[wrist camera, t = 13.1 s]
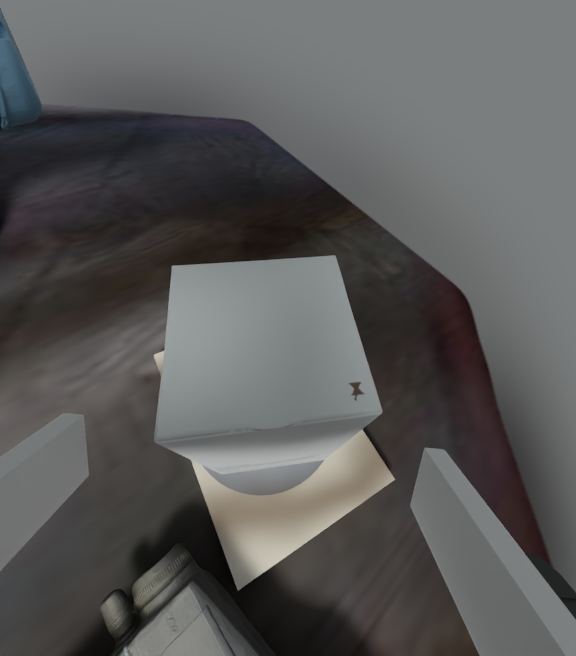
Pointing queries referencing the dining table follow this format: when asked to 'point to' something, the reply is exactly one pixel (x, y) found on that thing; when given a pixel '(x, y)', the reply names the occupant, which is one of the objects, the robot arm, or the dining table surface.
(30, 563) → the dining table surface
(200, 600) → the camcorder
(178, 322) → the supplement box
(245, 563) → the board
